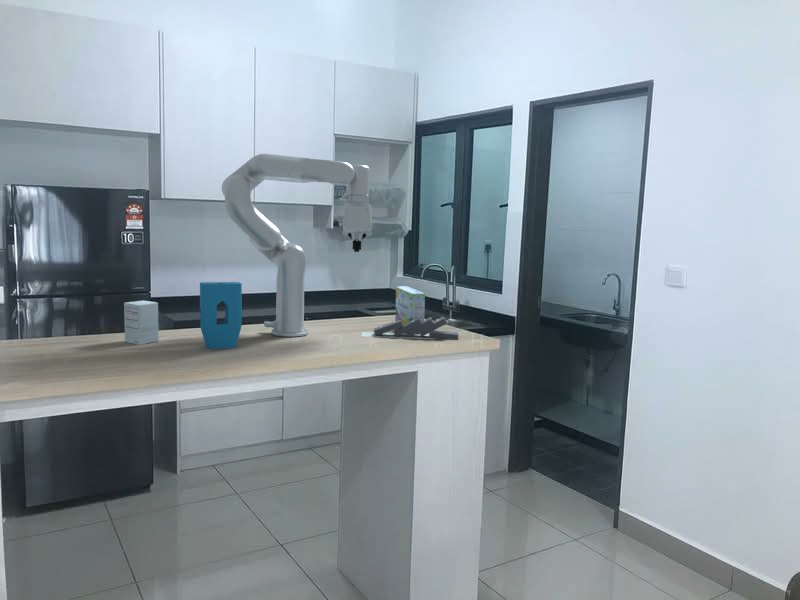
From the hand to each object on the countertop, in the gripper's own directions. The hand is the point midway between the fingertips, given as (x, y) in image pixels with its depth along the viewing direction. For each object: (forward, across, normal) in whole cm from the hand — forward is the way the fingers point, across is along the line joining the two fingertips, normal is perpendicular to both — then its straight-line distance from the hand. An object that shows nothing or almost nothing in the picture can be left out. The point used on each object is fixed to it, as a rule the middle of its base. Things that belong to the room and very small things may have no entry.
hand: (356, 251), depth 227 cm
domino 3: (+28, +19, -8) cm, 35 cm away
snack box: (+29, +20, +10) cm, 37 cm away
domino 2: (+28, +15, -8) cm, 33 cm away
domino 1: (+28, +8, -8) cm, 30 cm away
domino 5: (+28, +27, -8) cm, 40 cm away
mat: (+29, +16, -8) cm, 34 cm away
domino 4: (+27, +24, -8) cm, 37 cm away
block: (+29, -39, -35) cm, 60 cm away
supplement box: (+29, -65, -32) cm, 78 cm away
